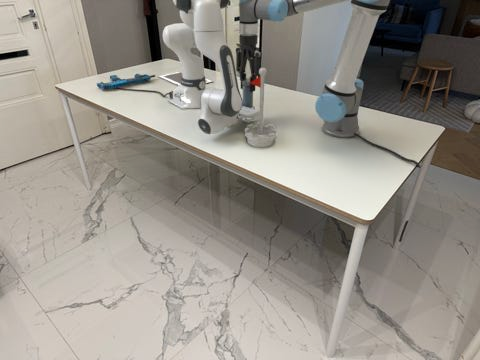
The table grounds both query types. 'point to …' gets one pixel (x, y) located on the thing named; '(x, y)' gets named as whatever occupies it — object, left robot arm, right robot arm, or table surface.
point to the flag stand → (260, 120)
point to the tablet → (176, 78)
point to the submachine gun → (123, 81)
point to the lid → (246, 82)
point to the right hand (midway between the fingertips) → (247, 89)
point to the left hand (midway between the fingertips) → (248, 106)
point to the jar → (247, 97)
